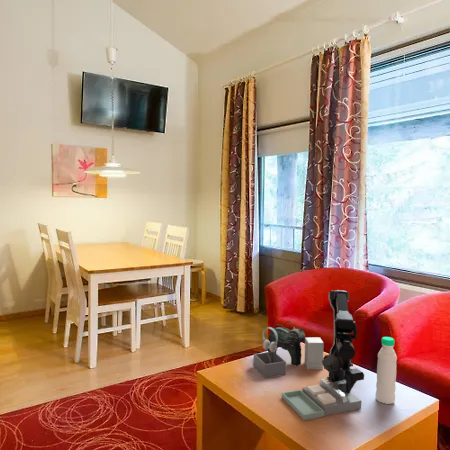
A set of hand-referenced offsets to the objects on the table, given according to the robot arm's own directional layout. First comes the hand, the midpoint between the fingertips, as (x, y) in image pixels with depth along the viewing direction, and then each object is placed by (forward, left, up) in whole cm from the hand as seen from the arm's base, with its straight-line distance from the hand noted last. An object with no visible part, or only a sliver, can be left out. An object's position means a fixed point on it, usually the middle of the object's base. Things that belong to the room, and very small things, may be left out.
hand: (342, 388), depth 158 cm
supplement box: (-6, -30, -5) cm, 31 cm away
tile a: (+10, -3, -2) cm, 10 cm away
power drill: (+4, -40, -5) cm, 40 cm away
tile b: (+10, +4, -2) cm, 10 cm away
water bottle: (-16, +6, -5) cm, 18 cm away
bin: (+18, 0, -4) cm, 18 cm away
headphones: (+16, -32, -5) cm, 36 cm away
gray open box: (+16, -32, -4) cm, 36 cm away
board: (+5, 0, -4) cm, 7 cm away
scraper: (+1, 0, -2) cm, 2 cm away
